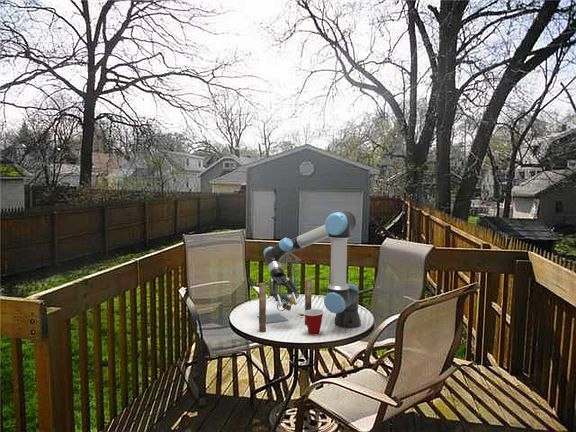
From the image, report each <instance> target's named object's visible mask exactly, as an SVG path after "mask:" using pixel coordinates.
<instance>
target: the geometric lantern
mask: <svg viewBox="0 0 576 432" xmlns="http://www.w3.org/2000/svg"><path fill="white" fill-rule="evenodd" d="M292 259H295V260H292ZM279 261H280V263H282V264H281V266H282V267H283V266H284V265H285V266H284V269H283V268H282V269H283V272H284V274H285V273H288V271H287V270H291V271H293V283H294V285H295V287H296V288H297V290H298V291H297V292H296V293H295V294H296V296H297V298H296V300H298V298H300V289H299V279H298V270H297V265H299V263H300V261H302V259H301V258H299V257H298V256H296V255H295V254H293V253H292V252H290V253H286V254H285V255H283V256H282V257H281V258H280V259H279ZM294 264H295V266H293V265H294ZM287 267H289V268H287ZM284 288H285V286H283V285H279V286H278V290H277V293H280V294H283V295H285V294H287V295H291V293H290V292H289V293H285V289H284ZM279 297H280V296H279ZM288 297H289V298H291V299H292V296H288ZM280 300H282V298H281V297H280ZM281 303H282V305H283V304H284V303H286V301H285V300H283V301H281Z"/></svg>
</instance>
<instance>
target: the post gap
mask: <svg viewBox="0 0 576 432" xmlns="http://www.w3.org/2000/svg"><path fill="white" fill-rule="evenodd" d="M304 282H305V283H304V285H305V286H304V312H305V311H307V310H311V309H312V285H313V284H312V283H313V279H312V278H305V279H304ZM258 294H259V295H258V316H259V318H258V332H260V333H266V331H267V330H266V329H267V328H266V327H267V326H266V325H267V324H266V315H267V309H266V307H267V284H266V283H265V282H259V283H258ZM304 325H305V326H307V321H306V317H305V316H304Z"/></svg>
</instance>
